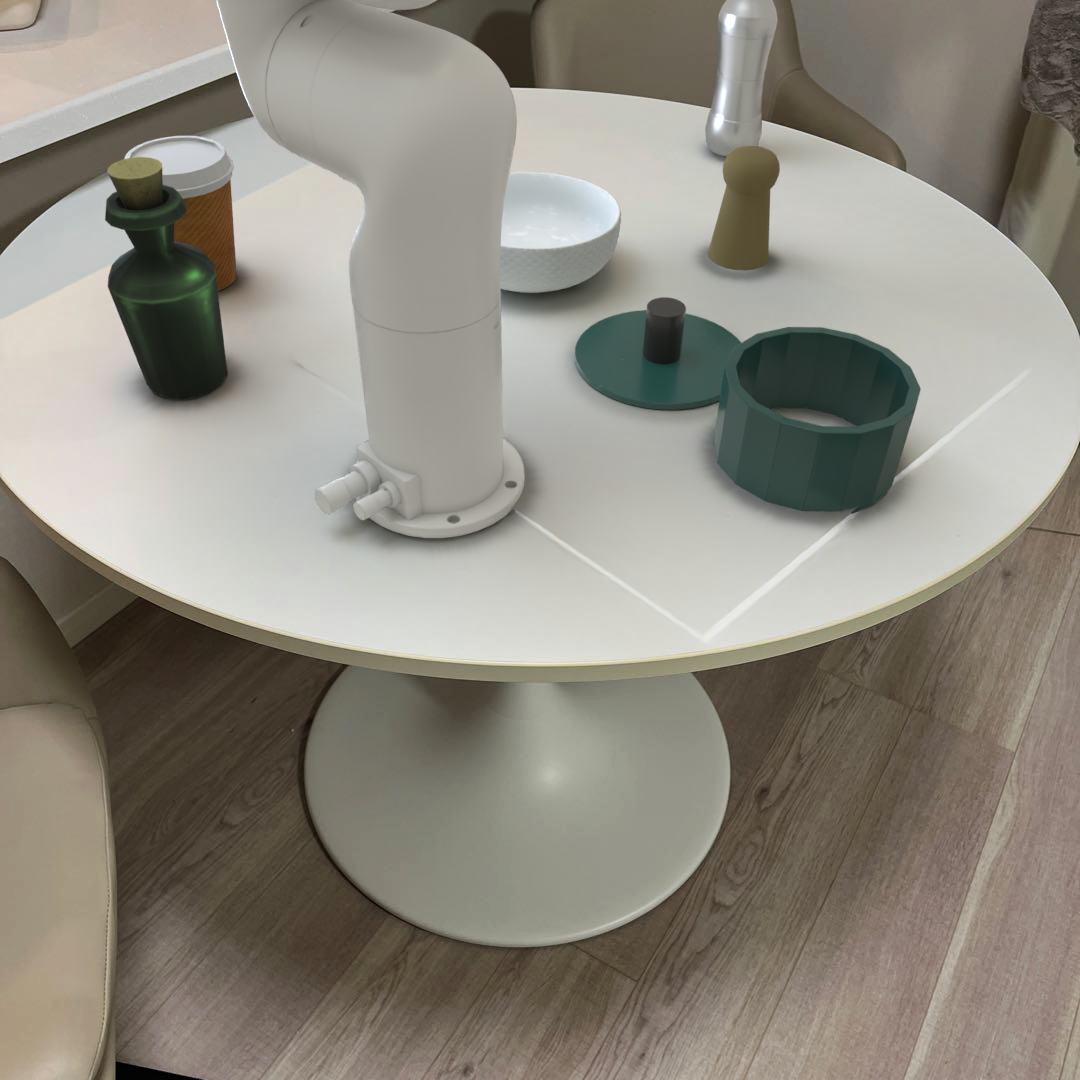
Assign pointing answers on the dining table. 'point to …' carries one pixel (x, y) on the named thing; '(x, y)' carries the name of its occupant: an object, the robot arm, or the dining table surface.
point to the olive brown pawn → (745, 209)
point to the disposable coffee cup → (199, 196)
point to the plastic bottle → (740, 74)
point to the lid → (656, 357)
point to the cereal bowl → (555, 231)
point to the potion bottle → (164, 286)
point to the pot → (807, 449)
